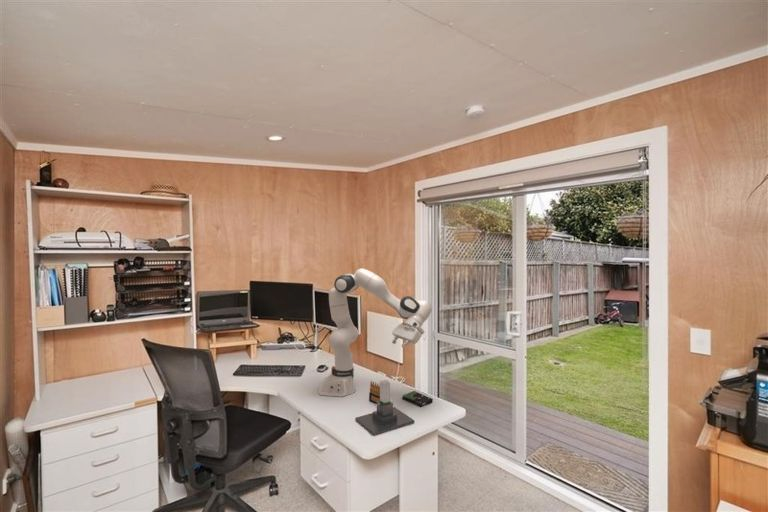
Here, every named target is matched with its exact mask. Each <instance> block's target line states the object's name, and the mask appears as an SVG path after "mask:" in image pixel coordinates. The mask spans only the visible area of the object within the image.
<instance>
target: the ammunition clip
mask: <svg viewBox="0 0 768 512" xmlns="http://www.w3.org/2000/svg"><path fill="white" fill-rule="evenodd" d="M368 401H369V403H372V404H375V405H377V401H380V383H379V382H376V381H372V380H370V384H369V393H368Z"/></svg>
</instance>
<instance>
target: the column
mask: <svg viewBox="0 0 768 512" xmlns="http://www.w3.org/2000/svg"><path fill="white" fill-rule="evenodd" d="M379 385H380V403H381V404H383V405H386V404H389V403H390V402H391V401H390V400H391V382H390V381H389V380H387V379H384V380H380V381H379Z"/></svg>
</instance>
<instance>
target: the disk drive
mask: <svg viewBox="0 0 768 512" xmlns="http://www.w3.org/2000/svg"><path fill="white" fill-rule="evenodd" d="M402 400H404V401H405V402H408V403H410V404H412V405H414V406H416V407H419V408H423V407H425V406H428V405H431V404H432V403H434V402H433V398H432V397H430V396H427V395H424V394H422V393H419V392H417V391H415V390H414V391H410V392H408V393H406V394H403V395H402Z"/></svg>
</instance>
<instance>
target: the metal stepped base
mask: <svg viewBox="0 0 768 512" xmlns="http://www.w3.org/2000/svg"><path fill="white" fill-rule="evenodd" d="M354 419H355V422H357V423H358V425H360V427H362V428H363V427H364V428H363V429H365V430H366V431H367V432H368V433H369V434H370V435H371V436H372V437H375V436H379V435H382V434H384V433H385V434H386V433H388V432H391V431H394V430H397V429H400V428H404V427H406V426H411V425H413V424H415V419H413V418H412V417H410V416H409V415H407V414H406V413H404V411H401V410H400V409H399V408H397V407H395V406H394V403H393V402H391V401H390V403H389V404H386V405H383V404H381V403H380V401H377V404H376V410H375V411H372V412H371V413H367V414H364V415H361V416H356V417H355V418H354Z"/></svg>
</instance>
